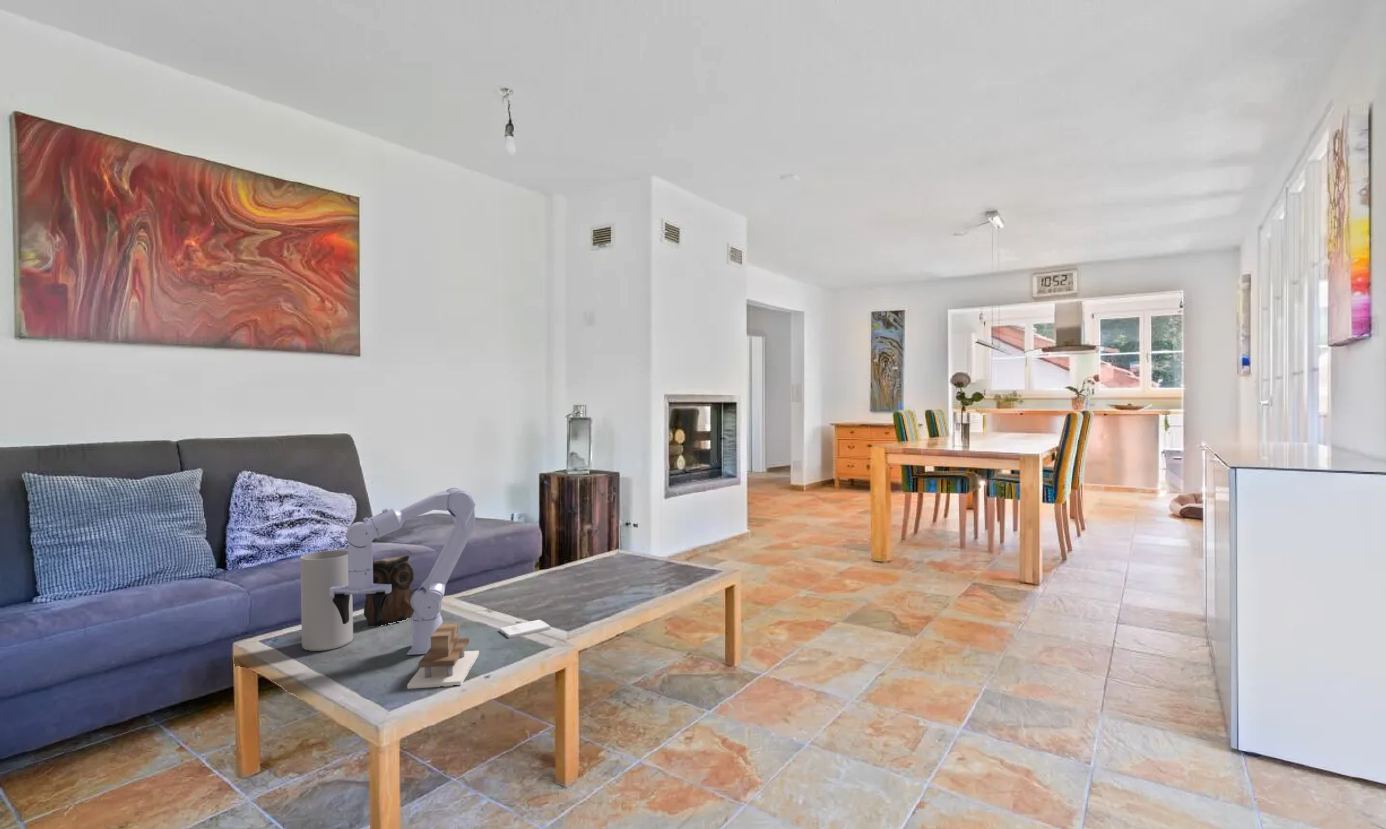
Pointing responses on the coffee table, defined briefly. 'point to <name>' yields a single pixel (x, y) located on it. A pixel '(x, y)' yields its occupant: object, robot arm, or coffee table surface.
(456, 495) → the robot arm
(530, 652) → the coffee table surface
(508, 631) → the external hard drive
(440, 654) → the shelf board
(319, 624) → the cylinder vase
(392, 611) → the owl
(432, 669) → the peg base
